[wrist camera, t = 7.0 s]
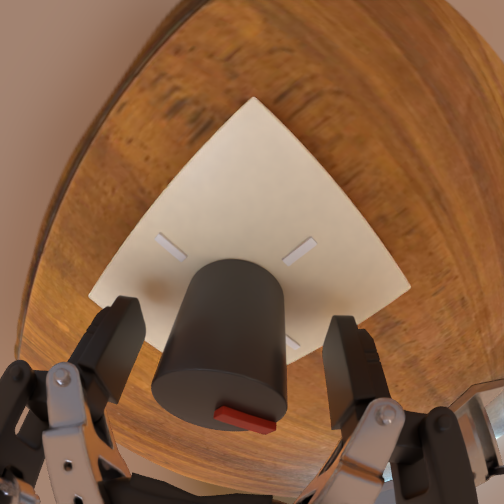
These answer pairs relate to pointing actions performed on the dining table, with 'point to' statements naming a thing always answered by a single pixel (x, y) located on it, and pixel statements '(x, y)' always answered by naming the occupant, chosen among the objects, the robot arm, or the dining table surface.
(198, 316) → the dial
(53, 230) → the dining table surface
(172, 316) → the dial panel
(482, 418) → the bracket
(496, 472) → the lever
